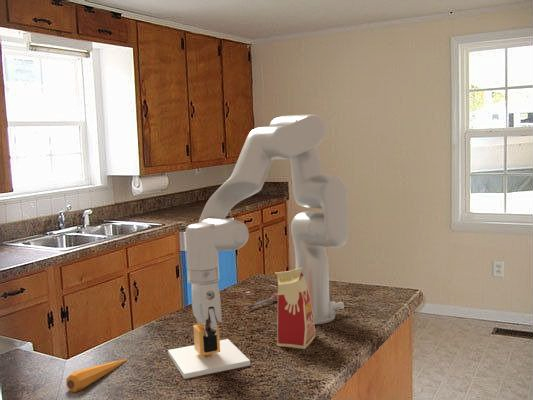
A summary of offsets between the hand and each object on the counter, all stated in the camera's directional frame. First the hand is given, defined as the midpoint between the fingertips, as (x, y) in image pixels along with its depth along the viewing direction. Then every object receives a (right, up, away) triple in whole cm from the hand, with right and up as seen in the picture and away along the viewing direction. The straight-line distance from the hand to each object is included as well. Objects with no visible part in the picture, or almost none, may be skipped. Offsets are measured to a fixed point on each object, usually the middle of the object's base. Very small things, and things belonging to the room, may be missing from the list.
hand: (207, 346), depth 138 cm
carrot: (-24, -6, -6) cm, 25 cm away
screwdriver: (+17, +2, +46) cm, 49 cm away
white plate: (0, -3, 0) cm, 3 cm away
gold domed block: (0, -1, 0) cm, 1 cm away
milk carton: (+22, -2, +10) cm, 24 cm away
